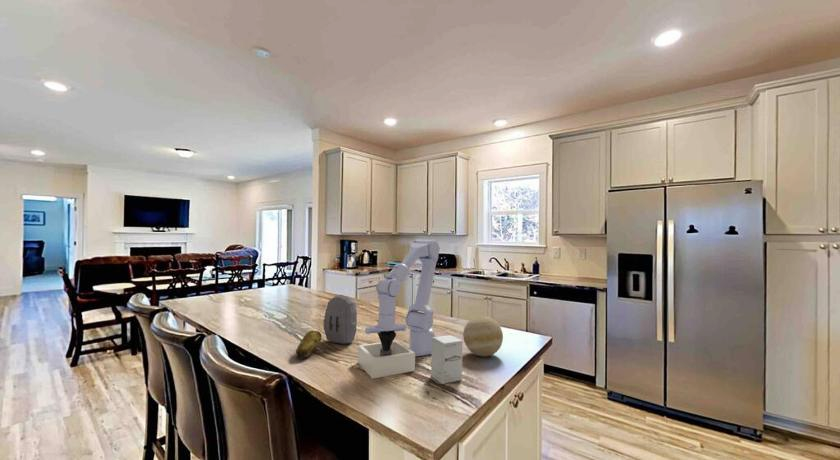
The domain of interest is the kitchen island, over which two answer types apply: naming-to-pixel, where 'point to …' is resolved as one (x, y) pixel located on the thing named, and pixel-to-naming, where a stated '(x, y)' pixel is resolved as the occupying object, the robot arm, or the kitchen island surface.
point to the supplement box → (446, 359)
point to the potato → (308, 344)
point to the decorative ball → (483, 336)
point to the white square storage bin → (386, 359)
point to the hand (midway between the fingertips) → (385, 353)
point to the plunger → (385, 352)
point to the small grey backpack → (340, 320)
